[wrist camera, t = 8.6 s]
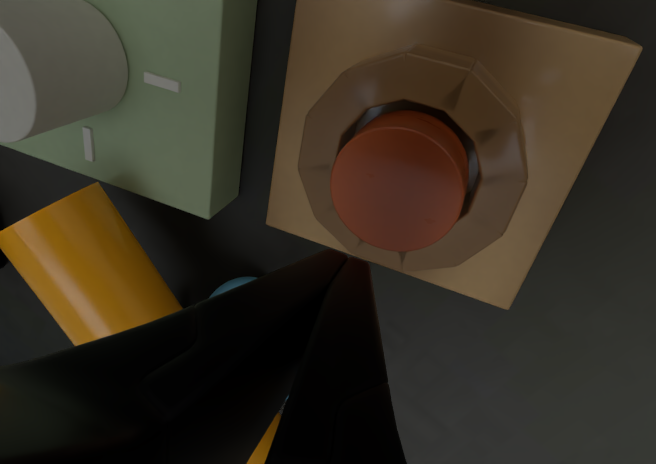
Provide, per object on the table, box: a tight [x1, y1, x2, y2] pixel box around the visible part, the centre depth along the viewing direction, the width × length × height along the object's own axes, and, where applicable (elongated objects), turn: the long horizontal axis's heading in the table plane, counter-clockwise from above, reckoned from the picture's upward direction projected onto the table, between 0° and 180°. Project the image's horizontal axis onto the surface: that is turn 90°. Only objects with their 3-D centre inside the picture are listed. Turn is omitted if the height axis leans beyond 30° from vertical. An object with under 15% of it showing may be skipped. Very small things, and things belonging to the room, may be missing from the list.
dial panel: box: [0, 0, 257, 219], centre depth 18 cm, size 11×10×3 cm
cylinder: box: [0, 182, 289, 464], centre depth 20 cm, size 12×10×15 cm
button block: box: [266, 0, 643, 310], centre depth 15 cm, size 10×9×4 cm
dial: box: [0, 0, 128, 143], centre depth 16 cm, size 4×4×4 cm
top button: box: [330, 110, 469, 252], centre depth 13 cm, size 4×4×2 cm
